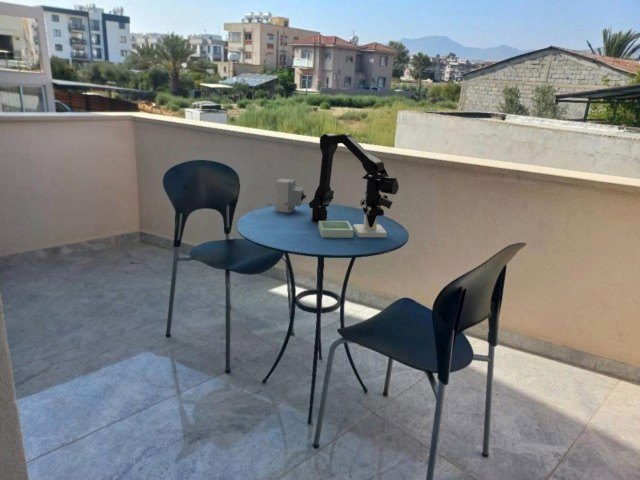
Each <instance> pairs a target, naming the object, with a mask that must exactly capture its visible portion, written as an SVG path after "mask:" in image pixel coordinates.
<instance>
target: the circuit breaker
mask: <svg viewBox="0 0 640 480" xmlns="http://www.w3.org/2000/svg"><path fill="white" fill-rule="evenodd" d="M296 183H297V182H296V179H289V178H278V179H277V180H275V185H274V187H275V188H274V190H275V191H276V201H275V202H274V212H280V213H287V214H288V213H292V212H293V211H294V210H295V209H296V207H301V206H302V205H303V204H304V203H305V202H304V199H306V198H307V195H306V194H305V188H304V187H300V186H299V187H298V186H296Z"/></svg>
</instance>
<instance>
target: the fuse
mask: <svg viewBox="0 0 640 480" xmlns="http://www.w3.org/2000/svg"><path fill="white" fill-rule="evenodd" d="M363 216H364V217H363V224H364V226H363V228H364V230H376V227H377V224H378V216H377V217H376V219H375V221H374V224H373V227H369V223H368V220H367V216H366V214H364V213H363Z"/></svg>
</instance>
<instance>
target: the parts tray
mask: <svg viewBox="0 0 640 480" xmlns="http://www.w3.org/2000/svg"><path fill="white" fill-rule="evenodd" d="M318 231H319V233H320V236H321V238H339V239H340V238H346V239H348V238H349V239H351V238H352V239H353V238H354V232H355V231H354V229H353V227H352V225H351V224H350V222H349V220H326V221H319V222H318Z"/></svg>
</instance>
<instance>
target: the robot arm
mask: <svg viewBox="0 0 640 480" xmlns="http://www.w3.org/2000/svg"><path fill="white" fill-rule="evenodd" d="M339 144H342V145H344V146H345V147H346V148H347V149H348V150H349V152H350V153H352V154H353V155H354V156H355V158H357V159H358V161H360V163H361V166H362V168H363V169H364V170H365V172H366V174H365V175H364V176H362V179H363V180H366V189H365V191H364V194H365V198H361V199H360V201H359V203H360V206H361V209H362V211H363V215H364V214H366V216H367V220H368V223H369V227H373V224H374V221H375V219H376V217H377V218H378V217H380V216H381V217H382V216H384V215H385V211H384V209H383V208H382V207H385V208H386V209H389V210H390V209H391V207H392V205H393V201H392V200H391V199H389V198H388V195H387V194H389V195H397V194H398V191H399V182H398V177H391V176H389V174H388V172H387V170H386V168H385V164H384V162H383V161H382V160H380V158H378V157H376V156H374V155H372V154H370V153H369V152H368V151H367V150H366V149H365V148H364V147H363V146H362V145H361V143H360V144H359V142H357V140H356V139H354V138H353V137H352V135H351V134H350V133H348V132H347V133H341V134H336V133H325V134H322V135H321V136H320V138H319V149H320V152H321V162H320V164H321V165H320V173H319V180H318V181H319V183H318V186H317V188H316V190H315V192H314V196H313V199H312V200H311V201H309V202H308V207H309V209H311V217H310V219H311V222H318V223H319V221H327V219H328V210H327V207H329V205H330V204H331V202H333V199H334V194H335V190H333V189H332V188H331V179H332V178H331V177H332V170H333V163H334V161H333V160H334V155H335V153H336V151H337V149H338V146H339ZM382 193H383V194H382Z"/></svg>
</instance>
